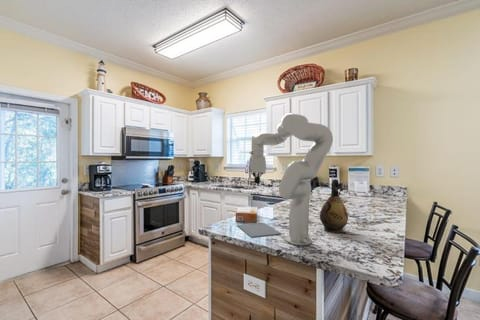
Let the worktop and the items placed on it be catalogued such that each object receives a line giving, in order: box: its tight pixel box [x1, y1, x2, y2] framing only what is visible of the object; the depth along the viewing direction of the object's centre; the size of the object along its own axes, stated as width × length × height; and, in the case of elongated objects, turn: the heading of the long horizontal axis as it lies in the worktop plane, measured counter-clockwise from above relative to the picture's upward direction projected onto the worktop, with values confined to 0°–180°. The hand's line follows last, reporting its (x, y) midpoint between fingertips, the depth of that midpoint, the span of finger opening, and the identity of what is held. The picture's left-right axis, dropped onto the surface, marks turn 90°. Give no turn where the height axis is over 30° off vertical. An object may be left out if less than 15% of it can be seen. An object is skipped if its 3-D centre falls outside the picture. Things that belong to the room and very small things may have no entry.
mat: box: [237, 222, 282, 239], centre depth 137 cm, size 22×18×1 cm
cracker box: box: [235, 205, 259, 223], centre depth 164 cm, size 14×6×21 cm
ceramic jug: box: [319, 178, 349, 233], centre depth 140 cm, size 17×15×30 cm
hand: (257, 183), depth 147 cm, fingers closed
